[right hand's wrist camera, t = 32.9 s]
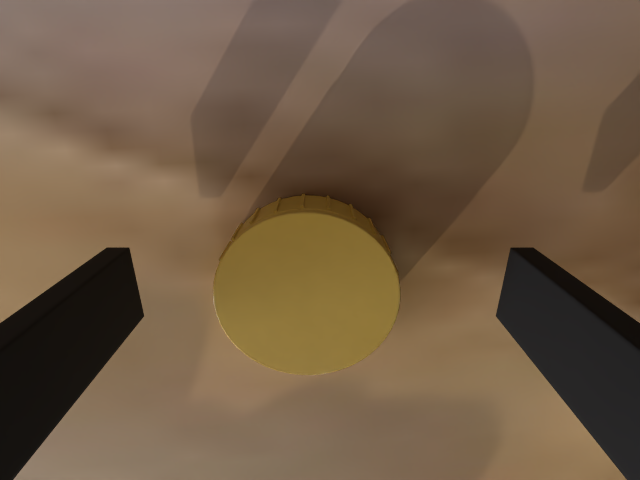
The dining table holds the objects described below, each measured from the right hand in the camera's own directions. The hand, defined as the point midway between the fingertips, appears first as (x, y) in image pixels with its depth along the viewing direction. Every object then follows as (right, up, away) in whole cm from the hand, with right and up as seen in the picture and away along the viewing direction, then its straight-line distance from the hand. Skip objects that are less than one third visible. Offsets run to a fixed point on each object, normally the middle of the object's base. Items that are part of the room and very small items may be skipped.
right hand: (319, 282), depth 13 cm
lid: (0, 0, 0) cm, 1 cm away
